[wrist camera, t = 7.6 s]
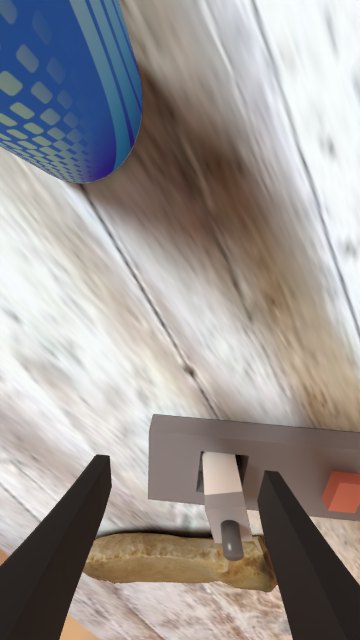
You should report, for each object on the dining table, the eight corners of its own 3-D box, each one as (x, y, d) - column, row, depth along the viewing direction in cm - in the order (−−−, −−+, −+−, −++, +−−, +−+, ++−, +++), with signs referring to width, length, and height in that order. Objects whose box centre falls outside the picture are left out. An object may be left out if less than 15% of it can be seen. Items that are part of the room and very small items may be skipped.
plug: (230, 436, 21) (252, 535, 13) (236, 465, 22) (259, 570, 14) (201, 440, 21) (206, 538, 14) (208, 468, 22) (217, 572, 15)
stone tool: (275, 518, 23) (70, 519, 26) (291, 574, 19) (50, 568, 22) (271, 558, 28) (98, 556, 31) (283, 609, 24) (86, 601, 27)
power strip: (382, 434, 19) (415, 465, 17) (352, 499, 22) (376, 535, 19) (153, 414, 20) (146, 440, 17) (151, 478, 23) (145, 510, 20)
